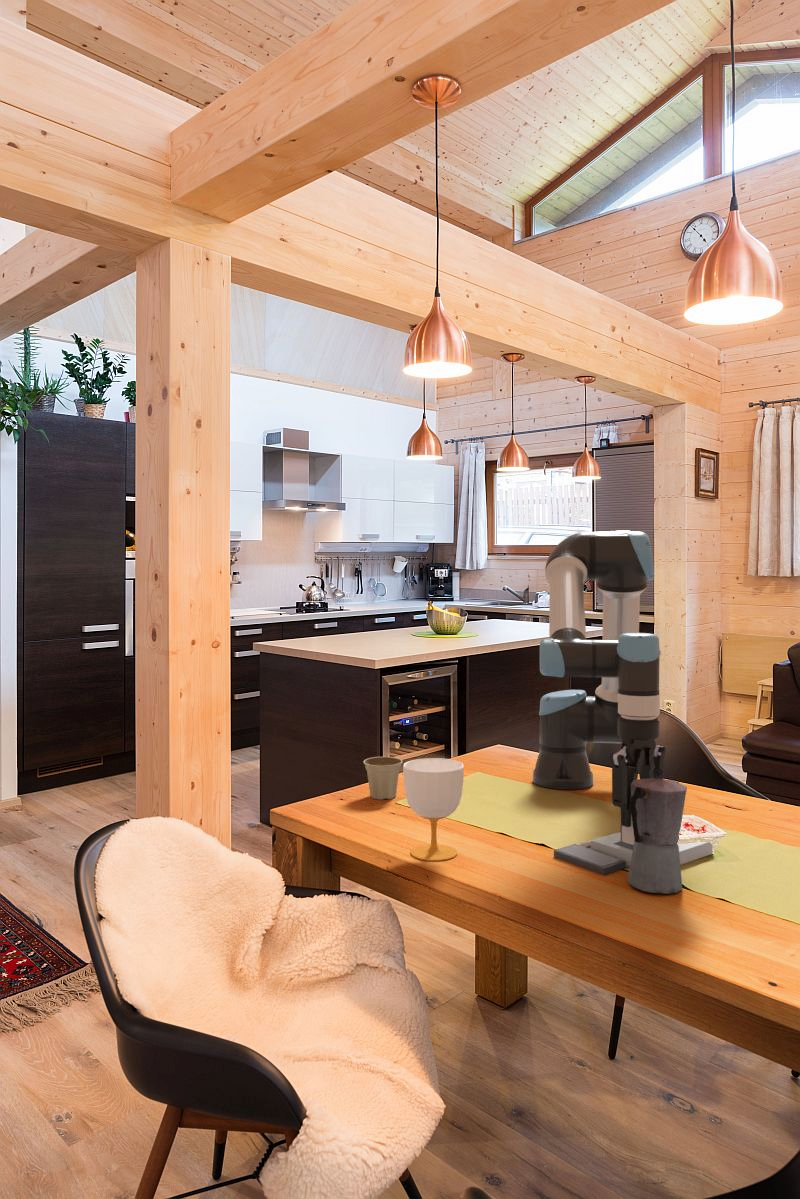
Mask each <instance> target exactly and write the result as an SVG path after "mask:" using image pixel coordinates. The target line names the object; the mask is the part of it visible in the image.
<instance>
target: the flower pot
mask: <svg viewBox="0 0 800 1199" xmlns="http://www.w3.org/2000/svg"><path fill="white" fill-rule="evenodd" d="M363 764H364V767H365V770H366V772H367V774H366V776H367V780H368V787H369V788H368V789H369V794H370V797H371V798H372V799H375V800H379V801H383V800H385V799H387V800H392V799H394V798H396V796H397V792H398V790H397V789H398V783H399V777H400V776H399V775H400V769H401V768H402V764H403V759H401V758H398V757H393V756H373V757H369V758H366V759H364V760H363Z"/></svg>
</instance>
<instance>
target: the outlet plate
mask: <svg viewBox="0 0 800 1199" xmlns="http://www.w3.org/2000/svg"><path fill="white" fill-rule="evenodd" d="M593 839H594V840H593ZM593 839H590V840H591V846H590V849H592V850H595V851H598V852H601V853H603V854H606V855H609V856H612V857H615V858H618V859H621V860H624V861H626V867H629V868H630V863H631V857H632V852H633V847H634V845H631V844H628V843H625V842H622V841H621V831H618V832H615V833H611V834H608V836H607V835H603V836H601V838H600V837H598V838H593ZM678 846H679V856H680V866H682V865H685V864H687V863H690V862H692V861H693V862H694V861H697V860H699V859H701V858H704V857H707V856H710V855H713V843H712V844H711V843H710V842H698V843H688V844H678Z"/></svg>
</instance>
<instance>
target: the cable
mask: <svg viewBox="0 0 800 1199" xmlns="http://www.w3.org/2000/svg"><path fill="white" fill-rule="evenodd" d="M608 835H609V834H608ZM608 835H606V836H608ZM601 837H602V836H601ZM601 837H599V838H601ZM594 839H595V838H593V839H590V840H586V841H584V842H580V843H577V844H578V845H580V846H583V847H586V848H589V847H591V840H594Z"/></svg>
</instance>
